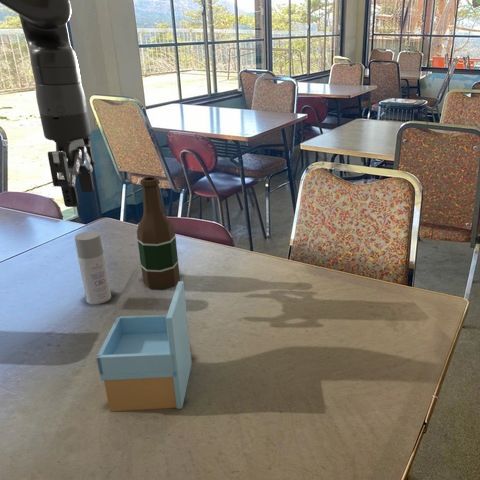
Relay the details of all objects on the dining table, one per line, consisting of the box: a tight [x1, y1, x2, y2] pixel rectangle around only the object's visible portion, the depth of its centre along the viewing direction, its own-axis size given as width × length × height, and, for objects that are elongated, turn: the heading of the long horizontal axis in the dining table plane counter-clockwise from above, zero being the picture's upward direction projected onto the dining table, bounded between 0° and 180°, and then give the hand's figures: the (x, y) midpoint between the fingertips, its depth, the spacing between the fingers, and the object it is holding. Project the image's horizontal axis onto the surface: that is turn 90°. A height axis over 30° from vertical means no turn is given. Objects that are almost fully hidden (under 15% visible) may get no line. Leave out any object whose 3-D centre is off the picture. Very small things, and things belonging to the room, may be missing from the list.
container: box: [74, 230, 112, 305], centre depth 96 cm, size 5×5×15 cm
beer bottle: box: [136, 176, 180, 291], centre depth 103 cm, size 8×8×24 cm
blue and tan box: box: [95, 280, 193, 412], centre depth 73 cm, size 11×11×16 cm
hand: (80, 198), depth 90 cm, fingers open, 8 cm apart
